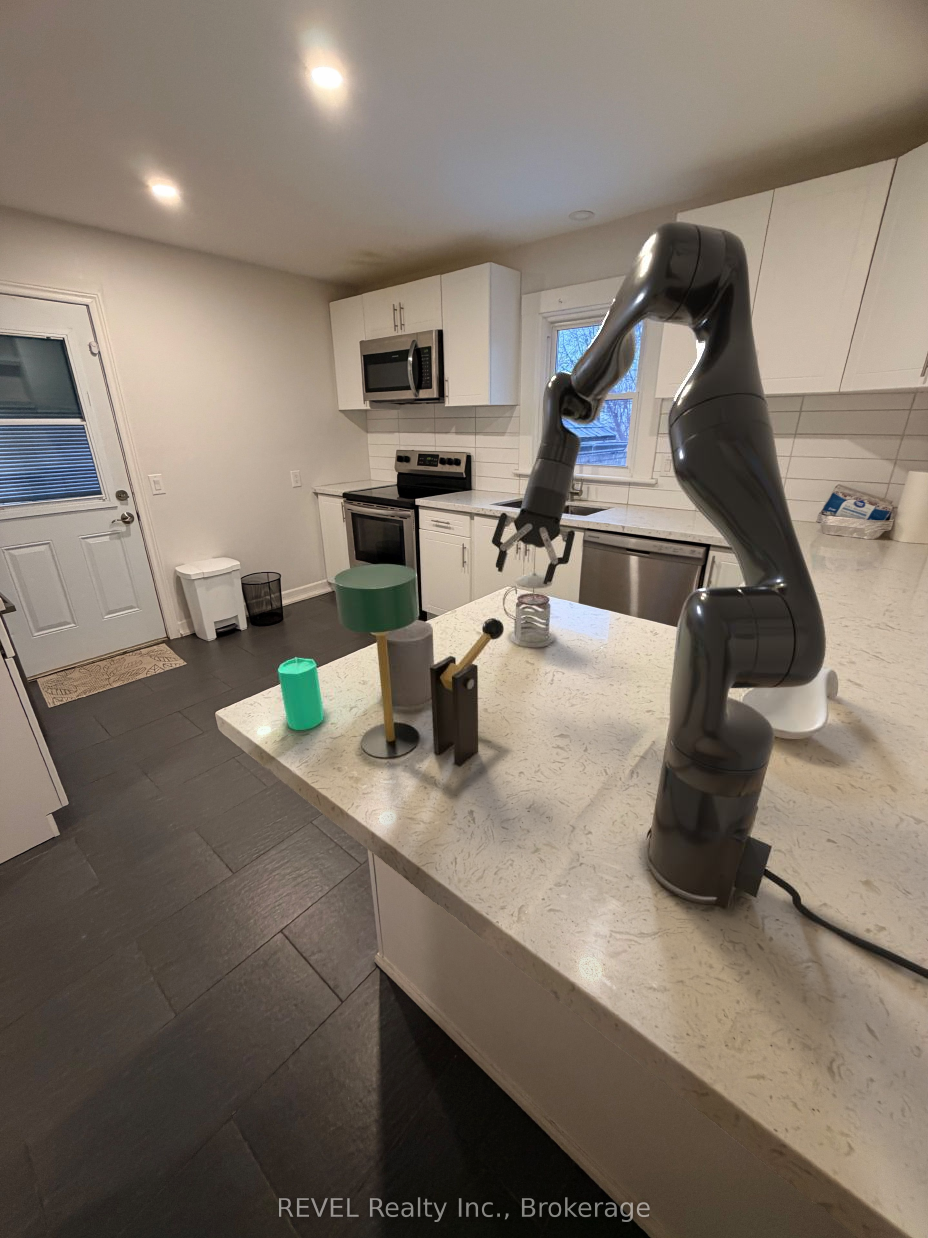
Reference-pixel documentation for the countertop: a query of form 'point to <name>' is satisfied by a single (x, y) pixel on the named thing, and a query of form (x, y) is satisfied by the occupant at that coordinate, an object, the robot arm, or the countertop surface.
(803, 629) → the robot arm
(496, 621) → the switch lever
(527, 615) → the french press
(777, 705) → the spoon rest
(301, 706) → the candle
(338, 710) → the countertop surface
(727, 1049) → the countertop surface
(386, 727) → the desk lamp
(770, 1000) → the countertop surface
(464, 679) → the switch bracket
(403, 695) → the pillar candle
